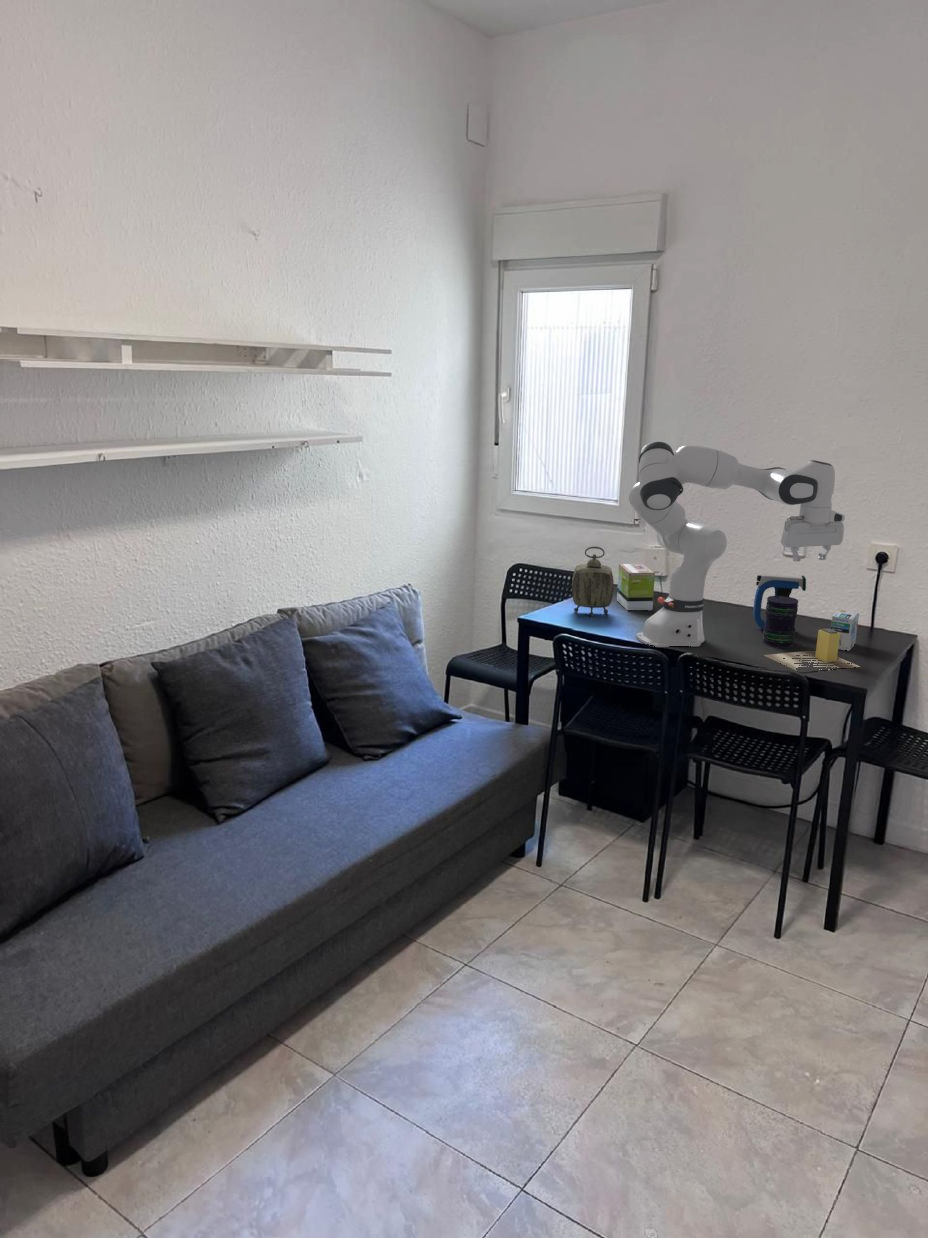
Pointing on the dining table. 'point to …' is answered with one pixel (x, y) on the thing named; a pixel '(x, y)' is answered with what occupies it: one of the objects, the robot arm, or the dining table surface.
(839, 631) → the light bulb box
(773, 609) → the storage jar
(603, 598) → the tabletop clock
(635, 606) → the tea box
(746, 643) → the dining table surface
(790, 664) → the plywood sheet
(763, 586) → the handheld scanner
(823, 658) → the yellow rectangular block
